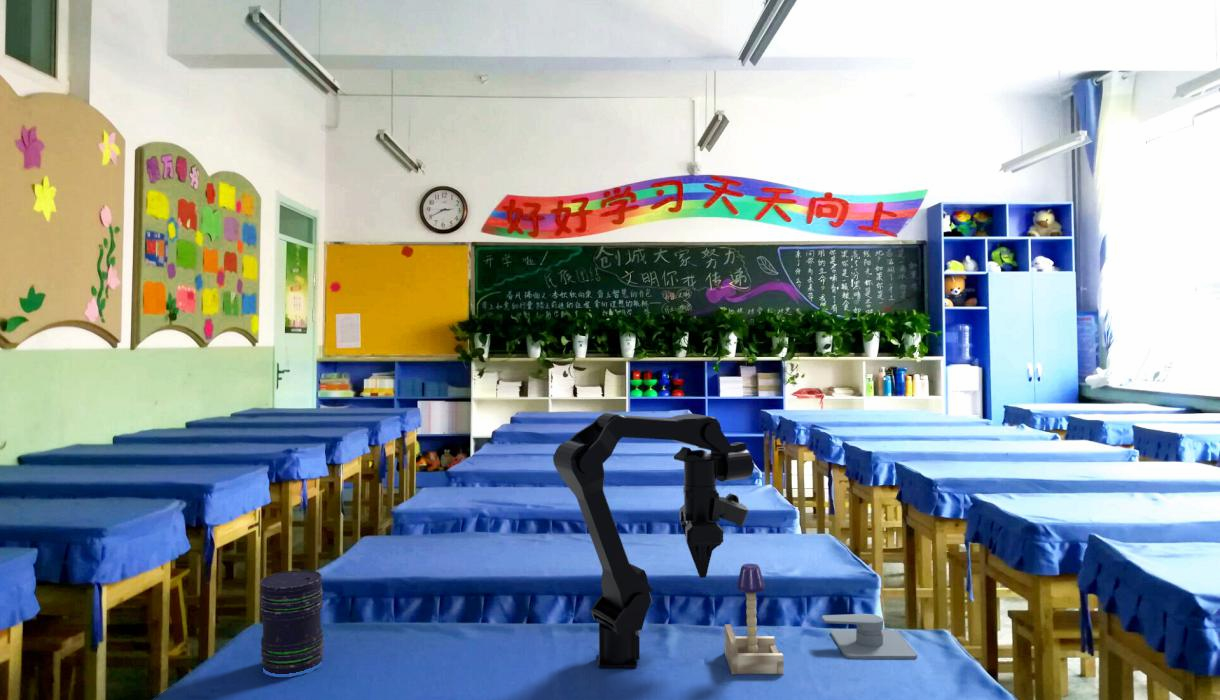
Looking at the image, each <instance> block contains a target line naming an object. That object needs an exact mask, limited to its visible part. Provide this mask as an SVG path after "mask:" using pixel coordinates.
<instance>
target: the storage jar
mask: <svg viewBox="0 0 1220 700" xmlns="http://www.w3.org/2000/svg"><path fill="white" fill-rule="evenodd" d="M322 577H323V575H322V574H321V573H320V572H319V571H315V570H307V569H301V570H298V569H297V570H287V571H281V572H277V573H273V574H270V575H267V576H265V577H264V578H262V579H261V580H260V588H261V589H260V596H259V599H260V600H259V601H260V603H259V604H260V615H261V617H262V636H261V638H260V639H261V641H260V645H261V646H260V647H261V648H260V655H261V662H262V666H263V668H264V669H265V670H266V671H268V672H270V673H275V674H289V673H296V672H300V671H304V670H306V669H309V668H312V667H314V666H316V665H318V664H319V663H320V662H321V661H322V658H323V654H324V653H323V652H324V651H323V649H324V632H323V629H322V616H321V613H322V611H321V610H322V609H323V604H324V602H323V596H324V594H323V585H322V580H323V579H322Z"/></svg>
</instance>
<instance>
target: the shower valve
mask: <svg viewBox="0 0 1220 700" xmlns="http://www.w3.org/2000/svg"><path fill="white" fill-rule="evenodd" d="M821 619H822V621H823V622H824V623H825V624H837V625H838V624H840V625H844V624H845V625H855V626H856V629H853V628H852V629H847V628H846V629H843V628H842V629H840V628H839V629H831V630H830V636H831V637H832V639H833V640H834V642H835V643H836V646H838V648H839V650H840V651H841V654H843V656H844V657H845V658H847V659H853V660H854V659H862V660H865V659H866V660H869V659H871V660H873V659H874V660H875V659H877V660H914V659H915V660H916V659H918V653H917V652H916V651H915V649H914V648H913V647H912V646H911V645H910V643H908V641H906V639H905V638H904V637H903V636H902V635H901V633H900V632H899V631H897V630H896V631H892V630H893V629H884V619H883V617H881V616H880V615H876V614H874V613H873V614H872V613H854V614H853V613H852V614H851V613H849V614H829V615H828V614H826V615H825V614H824V615H821Z"/></svg>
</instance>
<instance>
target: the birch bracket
mask: <svg viewBox="0 0 1220 700" xmlns="http://www.w3.org/2000/svg"><path fill="white" fill-rule="evenodd" d="M747 637H748V635H747V636H746V635H744V636H743V635H742V636H741V635H738V636H736V635H735V633H734V630H733V628H732V625H731V624H730V623H729V624H724V654H725V658H726V660H727V664H728V668H729V670H730V672H731V675H739V674H740V675H741V674H743V675H745V674H746V675H747V674H748V675H749V674H757V675H758V674H767V675H769V674H771V675H773V674H774V675H784V672H785V671H784V669H785V668H784V666H785V665H784V663H785V661H784V654H783V653H782V652H779V650H778V647H777V646H776V638H775V636H773V635H772V636H771V635H770V636H769V635H764V636H763V635H762V636H761V635H760V636H759V635H757V639H758V641H757V646H758V653H746V652H748V641H747Z"/></svg>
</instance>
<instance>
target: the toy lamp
mask: <svg viewBox="0 0 1220 700" xmlns="http://www.w3.org/2000/svg"><path fill="white" fill-rule="evenodd" d="M739 571H740V572H739V576H738V581H737V583H736V584H737V585H736V588H737V590H738V591H740V592H743V593H745V598H746V602H745V605H746V610H745V611H746V613H745V614H746V625H747V627H746V633H747V636H748V637H747V641H748V652H746V653H758V646H757V641H758V639H757V636H758V635H757V634H758V627H757V623H758V622H757V621H758V620H757V617H756V616H757V609H756V607H757V601H756V597H757V593H760V592H764V591H765V589H766V586H765V582H764V578H763V575H762V571H761V568H760V566H759V565H758V564H756V563H744V564H742V565H741V567H740V570H739Z"/></svg>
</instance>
